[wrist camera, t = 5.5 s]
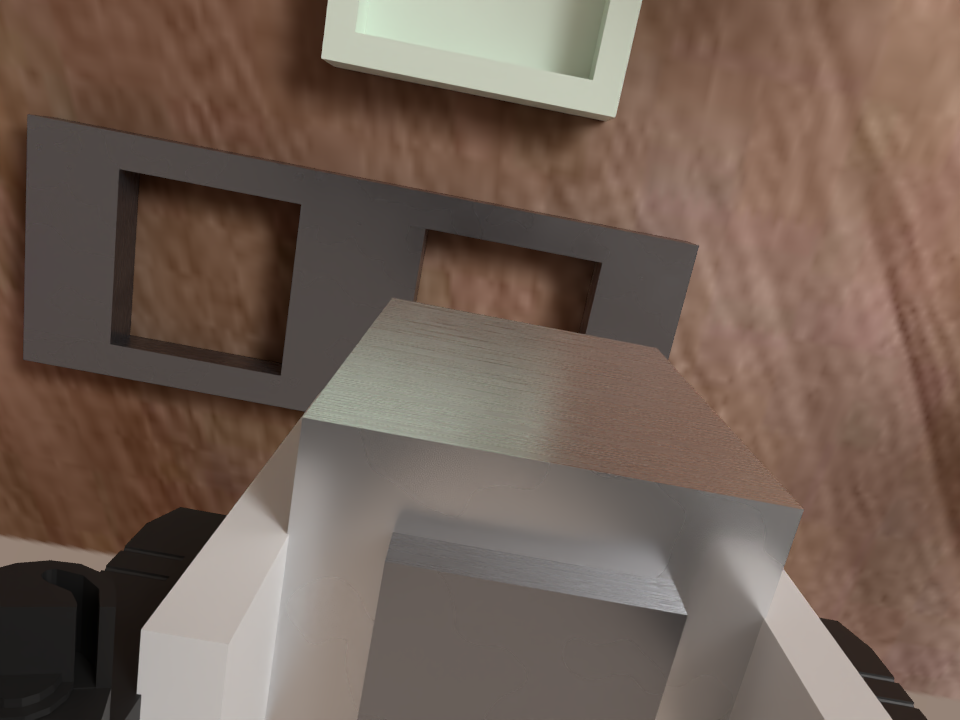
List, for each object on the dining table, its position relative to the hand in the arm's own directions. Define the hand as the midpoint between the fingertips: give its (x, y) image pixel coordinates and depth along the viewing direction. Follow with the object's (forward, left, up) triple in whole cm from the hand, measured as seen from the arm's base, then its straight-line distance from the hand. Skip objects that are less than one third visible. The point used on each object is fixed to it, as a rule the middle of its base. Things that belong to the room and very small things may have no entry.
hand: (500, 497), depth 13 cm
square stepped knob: (0, 0, -2) cm, 2 cm away
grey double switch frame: (-4, -4, -15) cm, 16 cm away
